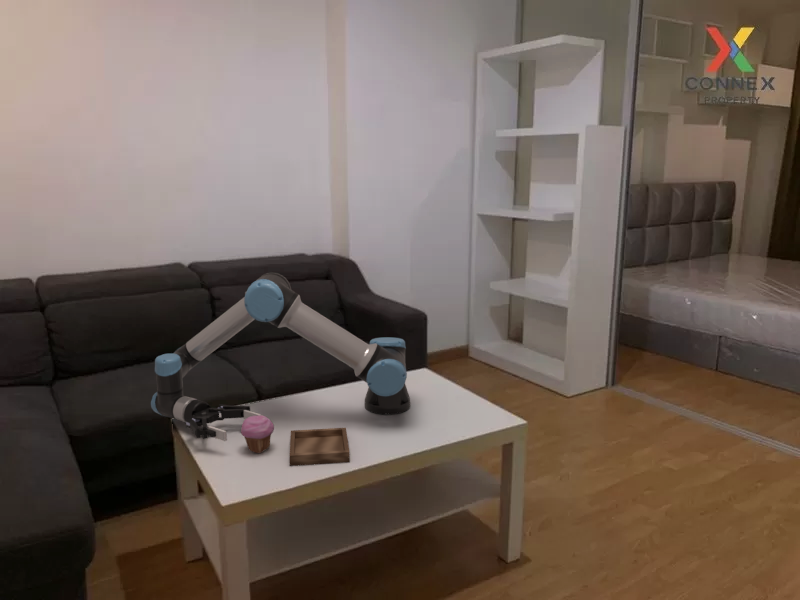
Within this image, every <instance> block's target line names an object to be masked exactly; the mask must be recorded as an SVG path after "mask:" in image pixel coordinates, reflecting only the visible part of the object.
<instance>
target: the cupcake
mask: <svg viewBox="0 0 800 600" xmlns="http://www.w3.org/2000/svg"><path fill="white" fill-rule="evenodd" d="M241 424H242V425H241V428H240V429H241V432H240V433H241V436H243V437H244V439H245V442H246V445H247V447H248V450H249V451H250V452H253V453H256V454H261V453H263V452H264V451H266V450H268V449H270V446H271V436H272V434H273V433H274V430H275V429H274V428H275V427H274V426H275V425H274V423H273V422H272V421H271V419H270V418H268V417H267V416H265V415H262V414H261V415H257V416H251V417H248V418H247V419H243V422H242V423H241Z"/></svg>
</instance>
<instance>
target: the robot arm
mask: <svg viewBox="0 0 800 600" xmlns="http://www.w3.org/2000/svg"><path fill="white" fill-rule="evenodd" d="M253 321H258V322H262V323H270V324H271V325H273V326H275V327H277V328H278V329H281V328H288V329H289V330H291V331H292V332H293V333H296V335H299V336H300V337H302V338H303V339H305V340H307V341H308V342H310V343H311V344H312V345H314V346H316V347H317V348H319V349H321V350H322V351H325V352H326V353H328V354H329V355H331V356H333V357H334V358H336V359H337V360H339V361H340V362H343V363H344V364H346V365H347V366H348V367H350V368H352V369H353V370H354V374H355V377H357V378H358V379H360V380H361V381H363V382H365V383H366V384H367V387H368V388H367V390H366V391H367V392H366V393H365V397H364V408H365V409H366V410H367V411H368V412H371V413H374V414H379V415H395V414H396V415H397V414H401V413H403V412H406V411H408V410H409V409H410V408H411V396H410V394H409V391H408V389H407V385H406V381H407V377H408V373H407V372H408V371H407V365H406V350H407V347H406V341H405V340H404V339H403V338H400V337H387V336H386V337H375V338H372V339H371V340H370V341H369V343H367V342H365V341H363V339H361V338H359V337H357V336H356V335H354V334H353V333H351V332H350V331H348V330H347V329H345V328H343V327H342V326H340V325H338V324H337V323H336V322H333V321H332V320H331V319H329V318H327V317H325V316H324V315H322V314H321V313H319V312H318V311H317V310H314V309H312V308H311V307H310V306H308V305H306V304H305V303H303V301H302V300H301V296H300V293H299V294H298V293H297V292H295V291H294V290H292V287H291V283H290V282H289V280H288V279H287V278H286V277H285V276H284V275H282V274H280V273H278V272H267V273H264V274H262V275H260V276H259V277H258V278H257V279H256V280H255V281H253V282H252V283H251V284H250V285H249V286H248V288H247V290H246V291H245V292H244V297H242V298H240V300H239V301H238V302H236V303H235V304H234V305H232V306H231V307H229V308H228V309H227V310H226V311H225V312H224V313H222V314H220V316H218V317H217V318H216V319H214V321H212V322H211V323H210V324H208V325H207V326H206V327H205V328H203V329H202V330H200V332H198V333H197V334H196V335H194V336H193V337H191V339H189V340H188V341H186V343H185V344H183V345H182V346H180V347H178V348H177V349H176V350H175V351H174V352H173V353H164V354H161V355H158V356H156V358H155V359H154V373H155V381H156V392H155V393H154V394H153V395H152V398H151V401H150V407H151V410H152V411H153V412H154V413H156V414H158V415H160V416H162V417H166V418H169V419H174V420H176V421H179V422H182V423H186V424H185V426H186V428H187V429H189V430H190V431H191V432H192V434H193V435H194V437H195V438H196V439H201V437H202V438H203V439H204V440H206V439H208V437H210V438H214V439H217V440H220V441H223V442H226V441H227V440H228V438H227V437H228V436H227V431H226V430H224V429H220V428H217V427H214V426H211V425H209V426H208V424H212V423H214V422H216V421H217V422H218V421H224V420H226V419H239V418H241V419H242V418H243V420H245V419H247V418H248V417H251V416H257V415H262V414H261V413H257V412H254V411H251V406H250V405H234V404H230V405H229V404H222V403H221V404H218V407H211V405H210V404H209V403H207V402H206V401H203V400H200V399H197V398H194V397H191V396H190V397H189V396H187V395H184V383H183V378H184V377H185V376H186V375H187V374H188V373H189V372H190V371H191V370H192V369H194V367H196V366H197V365H198V364H199V363H201V362H202V361H203V360H205V358H207V357H208V356H209V355H211V354H212V353H213V352H215V351H216V350H217V349H219V348H220V347H221V346H222V345H224V344H225V343H226V342H228V341H229V340H230V339H231V338H233V337H234V336H235V335H236V334H238V333H239V332H240V331H242V330H243V329H244V328H246V327H247V326H249V324H251V323H252V322H253ZM200 427H202V428H200Z"/></svg>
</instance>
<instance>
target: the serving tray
mask: <svg viewBox="0 0 800 600" xmlns="http://www.w3.org/2000/svg"><path fill="white" fill-rule="evenodd" d="M289 438H290V439H289V441H290V442H289V455H288V457H289V467H296V466H297V467H298V465H299V466H315V465H326V464H327V465H328V464H330V465H331V464H345V463H346V464H347V463H350V461H351V458H350V455H351V454H350V446H349V440H348V438H349V437H348V433H347V427H332V428H331V427H330V428H314V429H312V428H311V429H300V430H299V429H298V430H297V429H296V430H290V436H289ZM314 464H315V465H314Z"/></svg>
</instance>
